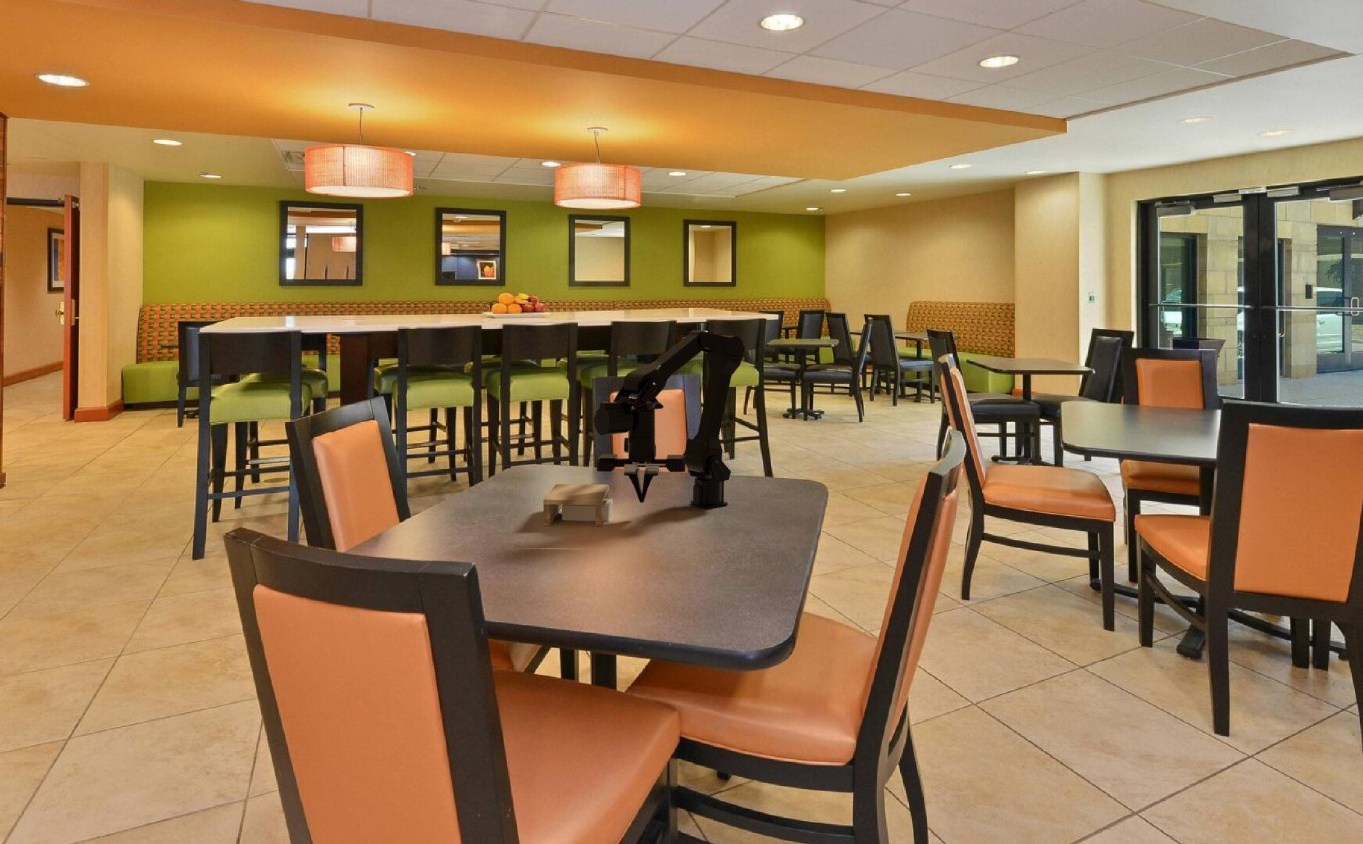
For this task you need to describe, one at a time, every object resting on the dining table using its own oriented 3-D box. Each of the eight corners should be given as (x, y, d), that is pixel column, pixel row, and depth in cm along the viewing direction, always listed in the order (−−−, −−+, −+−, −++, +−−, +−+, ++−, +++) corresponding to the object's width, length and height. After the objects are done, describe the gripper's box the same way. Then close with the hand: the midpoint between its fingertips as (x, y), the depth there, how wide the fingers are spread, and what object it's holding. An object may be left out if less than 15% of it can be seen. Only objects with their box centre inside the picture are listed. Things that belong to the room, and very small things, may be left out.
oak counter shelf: (609, 508, 175) (609, 484, 174) (601, 526, 160) (601, 500, 159) (556, 507, 175) (555, 484, 174) (543, 525, 160) (543, 499, 160)
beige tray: (613, 514, 171) (612, 499, 170) (608, 522, 164) (608, 506, 164) (568, 513, 171) (567, 498, 171) (562, 521, 165) (561, 505, 164)
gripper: (686, 425, 172) (685, 493, 175) (602, 425, 173) (603, 493, 175) (685, 433, 161) (684, 506, 164) (596, 432, 162) (596, 505, 164)
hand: (641, 502), depth 167 cm, fingers closed
